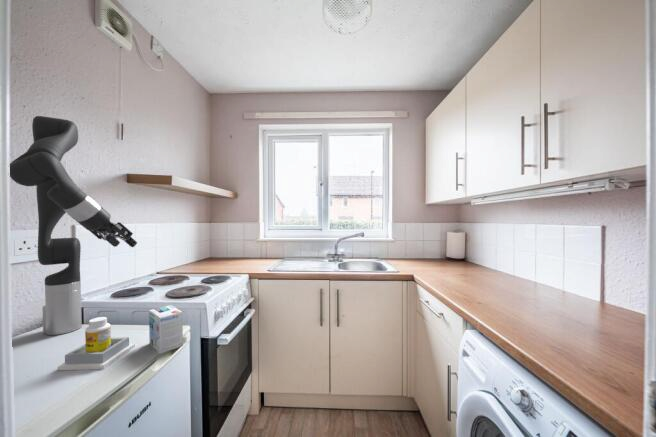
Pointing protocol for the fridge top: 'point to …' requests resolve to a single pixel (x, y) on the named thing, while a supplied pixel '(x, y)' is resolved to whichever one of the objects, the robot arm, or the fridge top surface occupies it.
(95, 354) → the grey tray
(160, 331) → the light bulb box
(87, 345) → the supplement bottle
